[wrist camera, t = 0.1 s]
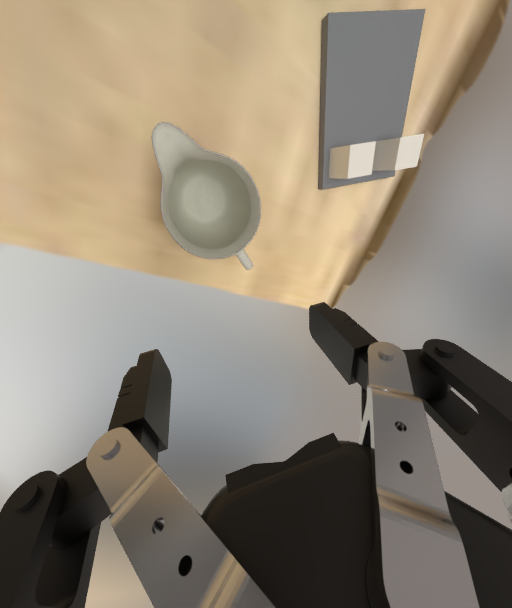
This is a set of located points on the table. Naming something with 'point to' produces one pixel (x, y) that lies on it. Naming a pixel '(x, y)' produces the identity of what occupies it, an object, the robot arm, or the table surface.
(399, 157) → the cream cube
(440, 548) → the robot arm
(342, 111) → the slate board
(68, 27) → the table surface
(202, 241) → the pitcher
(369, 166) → the cream cube
